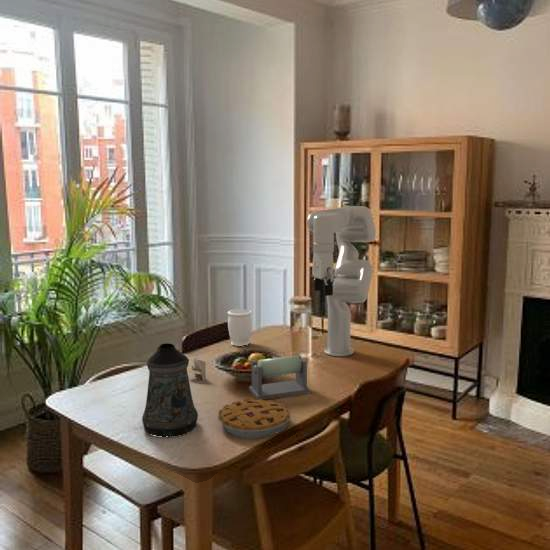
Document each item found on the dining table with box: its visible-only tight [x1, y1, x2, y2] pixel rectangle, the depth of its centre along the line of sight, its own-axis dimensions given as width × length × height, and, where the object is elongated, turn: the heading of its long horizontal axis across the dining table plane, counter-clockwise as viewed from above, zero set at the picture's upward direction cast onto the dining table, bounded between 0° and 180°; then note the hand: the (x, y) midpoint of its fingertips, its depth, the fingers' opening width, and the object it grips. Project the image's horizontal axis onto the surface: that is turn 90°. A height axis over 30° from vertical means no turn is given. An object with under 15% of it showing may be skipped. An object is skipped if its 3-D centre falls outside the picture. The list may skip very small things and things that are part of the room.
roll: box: [253, 354, 303, 378], centre depth 202 cm, size 6×18×6 cm, turn 109°
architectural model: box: [187, 358, 207, 381], centre depth 216 cm, size 3×7×7 cm, turn 53°
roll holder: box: [248, 354, 311, 400], centre depth 202 cm, size 10×19×11 cm, turn 109°
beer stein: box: [141, 342, 199, 438], centre depth 175 cm, size 16×19×25 cm
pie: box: [217, 398, 291, 439], centre depth 176 cm, size 22×22×5 cm
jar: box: [227, 308, 253, 347], centre depth 258 cm, size 11×10×15 cm
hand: (323, 292), depth 219 cm, fingers open, 9 cm apart
